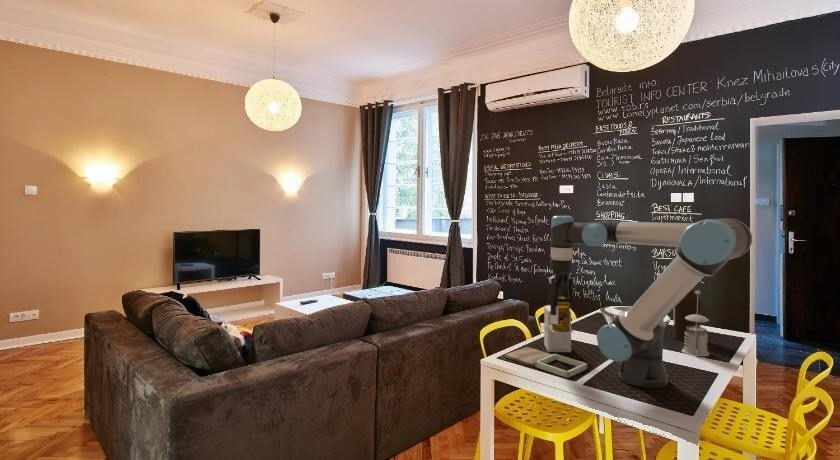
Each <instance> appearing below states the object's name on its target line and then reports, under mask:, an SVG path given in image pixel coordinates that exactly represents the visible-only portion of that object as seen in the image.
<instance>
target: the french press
mask: <svg viewBox="0 0 840 460" xmlns="http://www.w3.org/2000/svg"><path fill="white" fill-rule="evenodd" d="M694 293H695V294H696V295H697V314H694V315H689V316H686V317H685V319H686V320H688V321H692V322H696V325H695V326H688V327H686V329H687V330H686V331H685V335H687V336H688V337H686V336H685V341H683V342H684V346H683V348H682V349H681V353H683V352H684V353H683V354H685V353H686V354H685V355H687V354H689V355H688V356H690V355H693V356H692V357H695V356H708V355H709V354H710V352H709V351H708V337H709V333H708V332H707V331H708V330H707V328H704V327H702V325H701V323H708V322H709V318H707V317H706V316H704V315H702V314H701V315H698V297H699V295H701V291H700V290H695V292H694ZM697 322H698V323H700V327H697ZM688 338H689V339H688ZM686 339H687V340H686ZM688 341H689V342H688ZM708 357H709V356H708Z"/></svg>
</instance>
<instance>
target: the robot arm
mask: <svg viewBox="0 0 840 460" xmlns="http://www.w3.org/2000/svg"><path fill="white" fill-rule="evenodd" d="M606 243H607V244H608V243H611V244H627V245H628V244H629V245H630V244H631V245H642V246H643V245H644V246H657V247H658V246H659V247H671V248H672V247H673V248H675V250H674V252H675V255H676V256H675V258H673V259H672V261H671V262H669V264H668V266H666V268H665V269H664V270H663V271H662V272H661V273H660V274H659V276H658V277H657V278H656V279H655V280H654V281H653V282H652V284H650V286H649V287H648V288H647V289H646V290H645V291H644V293H643V294H642V295H641V296H640V297H639V298H638V299H637V300H636V301H635V303H634V304H633V305H632V306H631V307H630V308H629V309H628V310H622V311H620V312H619V313H618V314H617V316H615V317H614V319H612V321H611V322H610V323H608V324H604V325H603V326H601V327H600V328H599V329H598V331H597V333H596V341H597V342H596V343H597V346H598V348H599V350H600V352H601V354H603V355H604V356H605V358H607V359H609V360H610V361H613V362H617V363H618V362H621V363H620V365H619V367H618V378H619V379H620V380H621V381H622V382H624V383H626V384H629V385H632V386H635V387H640V388H645V389H646V388H647V389H659V388H664V387H666V386H667V385H668V381H669V378H668V373H667V369H666V367H665V363H664V360H663V353H664V329H665V323H664V319H665V317H667V316H668V314H670V312H671V311H672V310H673V308H674V307H675V306H676V305H677V304H678V303H679V302H680V301H681V300H682V299H683V298H684V297H685V296H686V295H687V294H688V293H689V291H690V290H691V289H692V290H693V288H694V287H695V286H696V285H698V284H699V282H701V280H702V279H703V278H705V277H713V276H714V275H716V274H717V273H718V272H719V270H721V268H723V267H724V266H725V265H726V264H727V263H728V261H730V260H733V259H734V260H735V259H738V258H740V257H742V256H744V255H745V254H746V253H747V252H748V251H749V250H750V248H751V246H752V244H753V235H752V231H751V229H750V228H749V227H748V226H747V225H746V224H745V223H744V222H743V221H741V220H740V219H735V218H731V217H724V218H706V219H701V220H699V221H697V222H694V223H689V222H688V223H687V222H651V221H650V222H649V221H618V220H607V221H595V222H576V221H574V217H573V216H572V215H554V216H552V218H551V224H550V258H551V259H550V261H549V262H550V263H549V264H550V265H549V266H550V270H552V274H551V276H550V277H549V276H547V278H546V282H547V290H546V291H547V292H546V305H547V306H551V323H553V324H556V325H558V316H559V306H557V304H558V299H559V296H560V293H561V296H564V297H568V298H569V306H570V304H573V303H574V298H575V297H574V293H575V292H574V290H575V289H574V279H575V274H574V273H571V272H570V271H572V270H573V260H572V258H573V251H574V250H573V245H582V246H583V245H584V246H589V247H601V246H603V244H606ZM554 302H555V303H554ZM570 307H571V306H570Z"/></svg>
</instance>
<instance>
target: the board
mask: <svg viewBox="0 0 840 460" xmlns="http://www.w3.org/2000/svg"><path fill="white" fill-rule="evenodd" d="M550 355H553V353H550V352H545V351H542V350H539V349H535V348H532V347H530V346H526V347H522V348H519V349H516V350H514V351H511V352H507V353H505V354H504V358H506V359H509V360H512V361H515V362H518V363H521V364H523V365H526V366H529V367H532V366H533V367H535V361H537V360H540V359H543V358H545V357H548V356H550Z"/></svg>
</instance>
